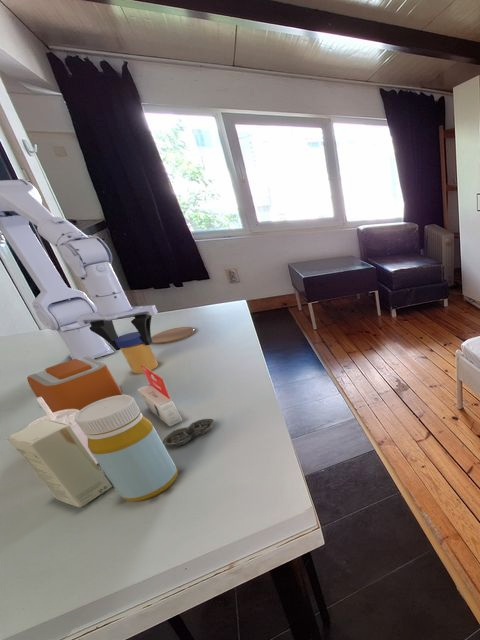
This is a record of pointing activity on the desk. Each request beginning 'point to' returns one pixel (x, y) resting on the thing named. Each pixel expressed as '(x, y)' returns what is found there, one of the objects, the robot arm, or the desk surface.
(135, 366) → the jar
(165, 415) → the ink cartridge box
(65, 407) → the alarm clock
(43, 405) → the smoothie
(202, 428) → the corroded twin loop
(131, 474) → the bottle
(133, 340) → the lid
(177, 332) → the coaster
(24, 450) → the cosmetic box
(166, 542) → the desk surface
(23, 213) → the robot arm
